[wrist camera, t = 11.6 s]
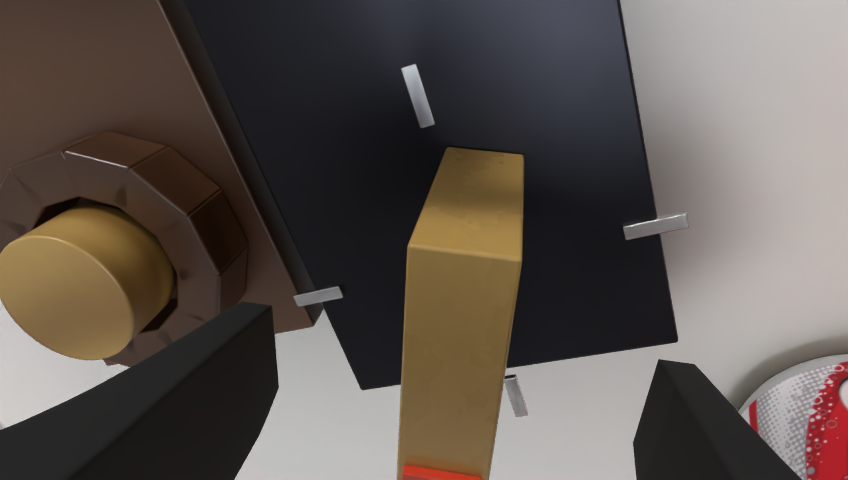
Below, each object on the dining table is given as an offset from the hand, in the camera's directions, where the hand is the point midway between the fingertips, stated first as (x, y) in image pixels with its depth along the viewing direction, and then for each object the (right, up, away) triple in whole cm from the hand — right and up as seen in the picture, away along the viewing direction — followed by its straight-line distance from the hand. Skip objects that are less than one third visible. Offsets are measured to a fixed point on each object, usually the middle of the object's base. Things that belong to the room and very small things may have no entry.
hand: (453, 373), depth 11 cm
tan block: (+1, +2, +4) cm, 4 cm away
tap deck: (0, +7, +5) cm, 9 cm away
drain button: (-9, +2, +5) cm, 11 cm away
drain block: (-9, +5, +7) cm, 13 cm away
